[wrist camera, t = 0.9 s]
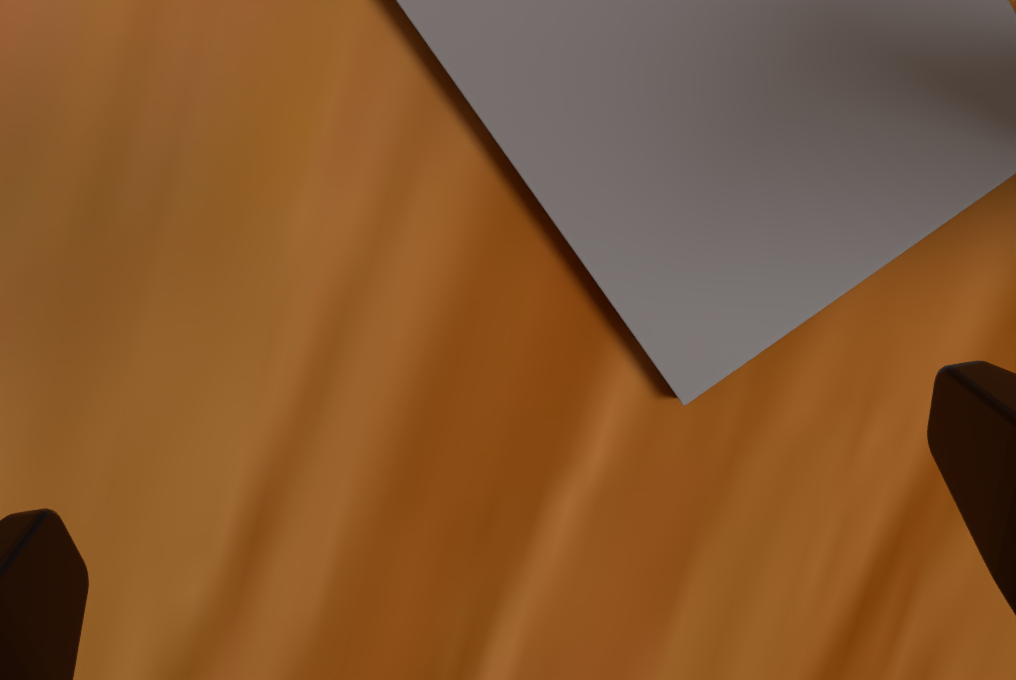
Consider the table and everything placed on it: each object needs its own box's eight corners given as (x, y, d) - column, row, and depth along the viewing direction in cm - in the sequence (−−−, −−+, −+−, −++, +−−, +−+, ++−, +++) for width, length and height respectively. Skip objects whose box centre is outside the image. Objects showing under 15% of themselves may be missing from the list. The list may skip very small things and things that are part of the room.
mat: (1060, 130, 23) (1076, 130, 23) (678, 399, 24) (684, 405, 24) (805, -351, 20) (816, -365, 20) (380, -22, 21) (378, -26, 21)
